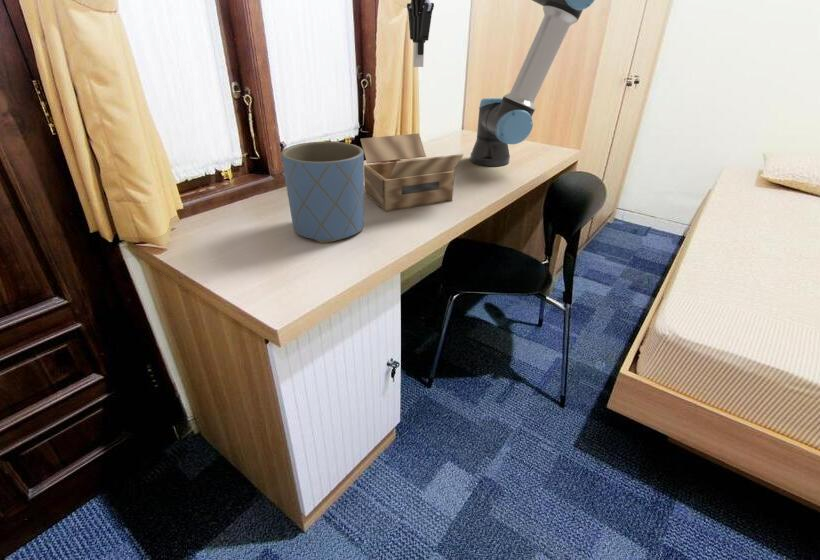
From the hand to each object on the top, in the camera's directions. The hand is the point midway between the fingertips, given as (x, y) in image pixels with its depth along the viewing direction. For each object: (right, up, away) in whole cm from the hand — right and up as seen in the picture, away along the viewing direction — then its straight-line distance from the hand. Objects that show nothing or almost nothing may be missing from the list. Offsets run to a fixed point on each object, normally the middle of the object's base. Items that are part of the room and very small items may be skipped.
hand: (418, 66), depth 135 cm
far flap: (-8, -25, 0) cm, 26 cm away
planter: (-23, -53, -22) cm, 63 cm away
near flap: (+2, -35, -16) cm, 39 cm away
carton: (-3, -41, -1) cm, 41 cm away
